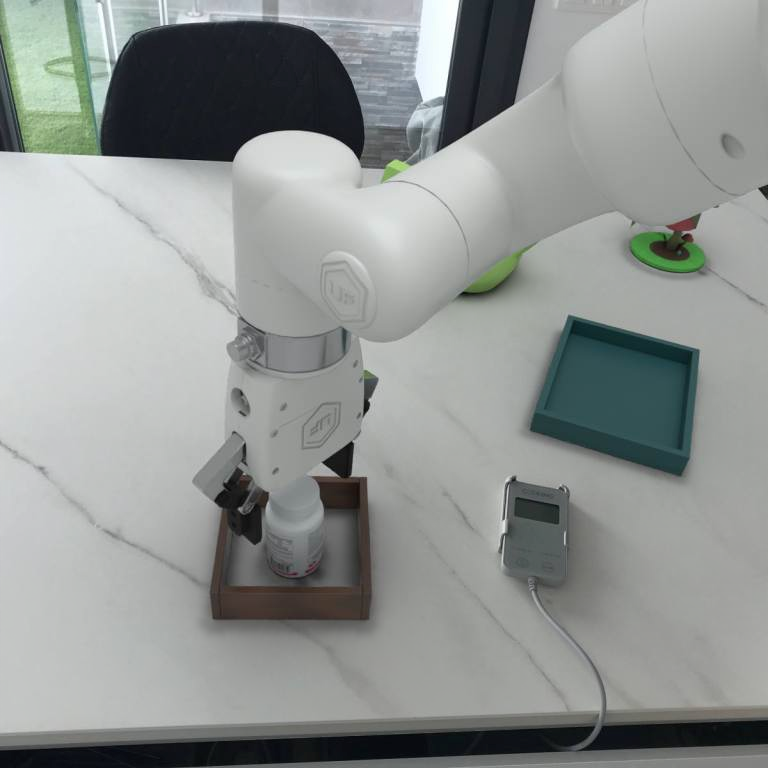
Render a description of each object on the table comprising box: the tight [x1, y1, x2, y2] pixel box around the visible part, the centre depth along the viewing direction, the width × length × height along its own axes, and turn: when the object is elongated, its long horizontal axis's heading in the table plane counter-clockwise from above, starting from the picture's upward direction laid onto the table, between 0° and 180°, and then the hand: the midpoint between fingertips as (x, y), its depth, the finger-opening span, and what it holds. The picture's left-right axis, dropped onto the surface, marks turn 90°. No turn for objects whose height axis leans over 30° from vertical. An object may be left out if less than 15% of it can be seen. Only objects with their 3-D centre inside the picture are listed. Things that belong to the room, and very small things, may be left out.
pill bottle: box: [264, 473, 325, 579], centre depth 64 cm, size 5×5×8 cm
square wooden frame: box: [209, 474, 373, 621], centre depth 65 cm, size 12×12×4 cm
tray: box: [529, 314, 701, 477], centre depth 86 cm, size 20×16×3 cm
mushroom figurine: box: [629, 205, 720, 273], centre depth 108 cm, size 12×13×15 cm
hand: (292, 499), depth 62 cm, fingers open, 9 cm apart
